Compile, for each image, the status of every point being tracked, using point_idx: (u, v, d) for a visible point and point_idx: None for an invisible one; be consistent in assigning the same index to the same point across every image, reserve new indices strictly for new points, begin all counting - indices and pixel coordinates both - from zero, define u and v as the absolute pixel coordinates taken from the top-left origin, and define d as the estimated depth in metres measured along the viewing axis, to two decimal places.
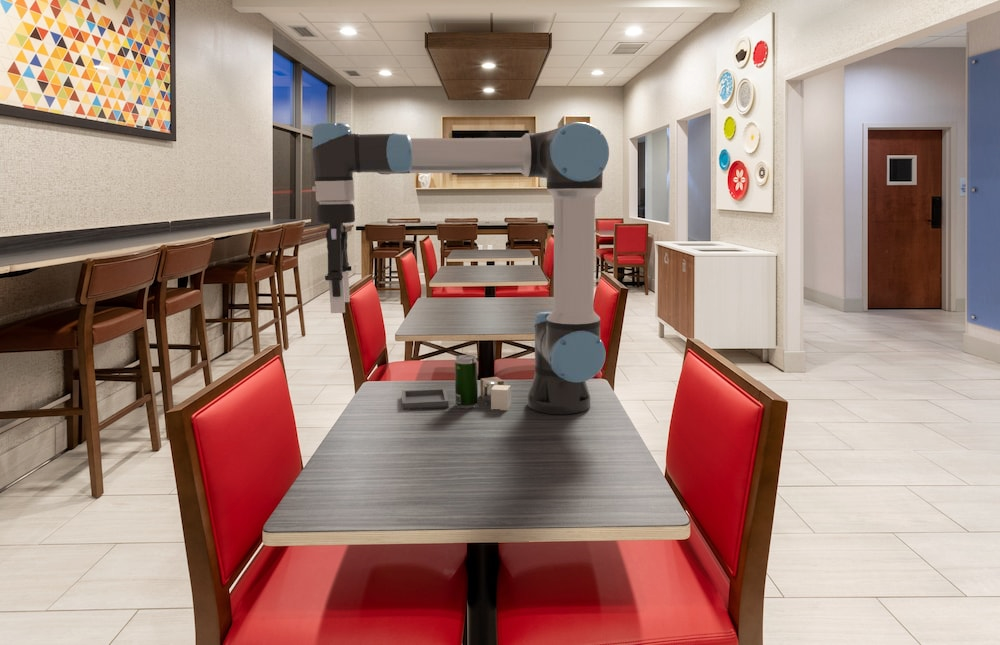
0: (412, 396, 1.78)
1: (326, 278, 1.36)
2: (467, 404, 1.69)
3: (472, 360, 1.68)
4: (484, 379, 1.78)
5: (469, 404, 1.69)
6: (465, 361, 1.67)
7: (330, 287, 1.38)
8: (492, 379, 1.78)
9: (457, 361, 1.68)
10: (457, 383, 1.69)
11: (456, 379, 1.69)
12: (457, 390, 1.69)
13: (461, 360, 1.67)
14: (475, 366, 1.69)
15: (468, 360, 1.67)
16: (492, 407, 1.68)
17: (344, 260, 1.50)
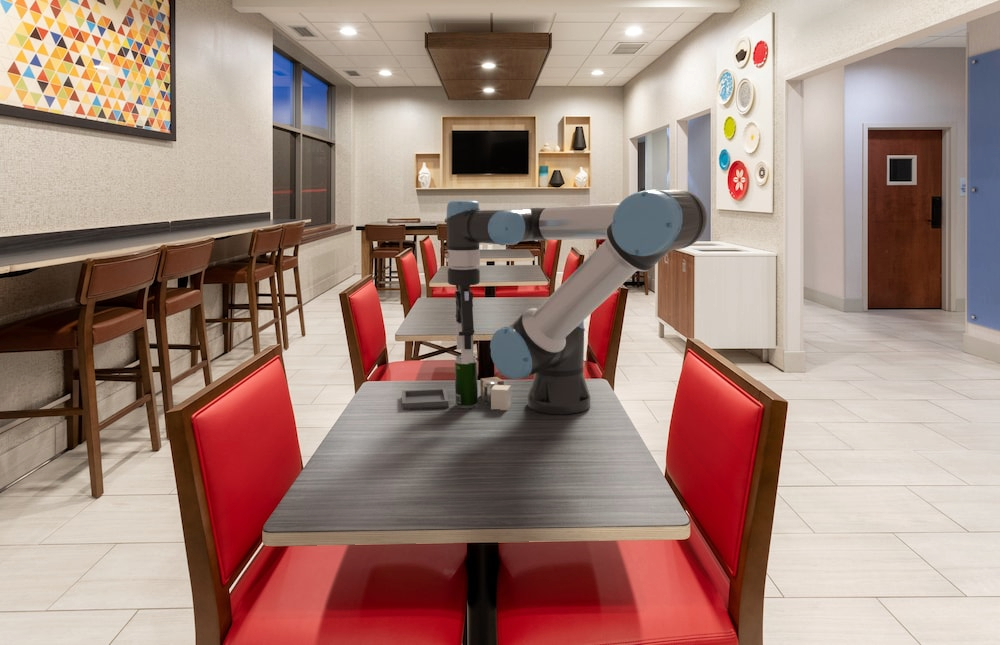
0: (412, 396, 1.78)
1: (460, 334, 1.60)
2: (467, 404, 1.69)
3: None
4: (484, 379, 1.78)
5: (469, 404, 1.69)
6: None
7: (462, 341, 1.61)
8: (492, 379, 1.78)
9: (457, 361, 1.68)
10: (457, 383, 1.69)
11: (456, 379, 1.69)
12: (457, 390, 1.69)
13: (461, 360, 1.67)
14: (475, 366, 1.69)
15: None
16: (492, 407, 1.68)
17: None
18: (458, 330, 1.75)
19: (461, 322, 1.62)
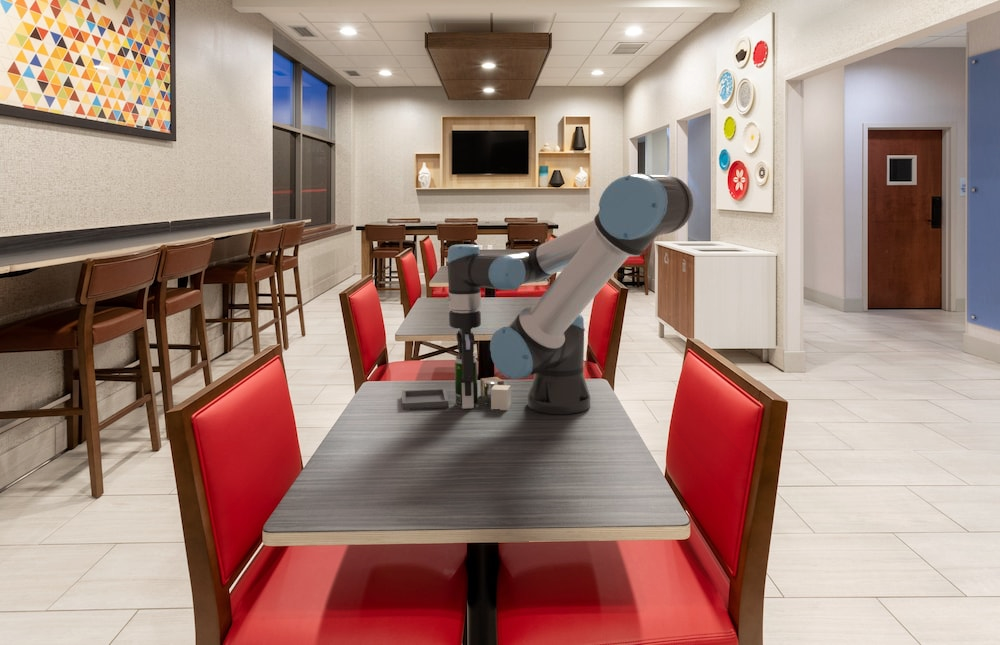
0: (412, 396, 1.78)
1: (460, 382, 1.66)
2: None
3: None
4: (484, 379, 1.78)
5: None
6: None
7: (462, 387, 1.67)
8: (492, 379, 1.78)
9: (457, 361, 1.68)
10: (457, 383, 1.69)
11: (456, 379, 1.69)
12: (457, 390, 1.69)
13: (461, 360, 1.67)
14: (475, 366, 1.69)
15: None
16: (492, 407, 1.68)
17: None
18: None
19: (462, 368, 1.66)
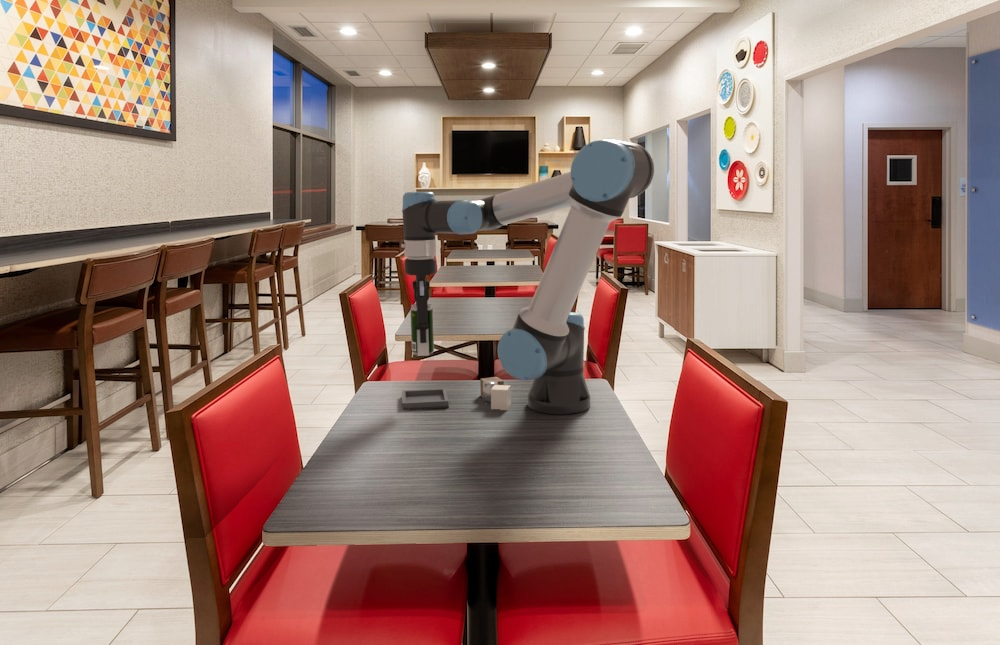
0: (412, 396, 1.78)
1: (415, 328, 1.67)
2: None
3: None
4: (484, 379, 1.78)
5: None
6: None
7: (418, 335, 1.68)
8: (492, 379, 1.78)
9: (412, 308, 1.69)
10: (413, 330, 1.70)
11: (412, 327, 1.70)
12: (413, 338, 1.70)
13: None
14: (430, 313, 1.69)
15: None
16: (492, 407, 1.68)
17: None
18: None
19: None
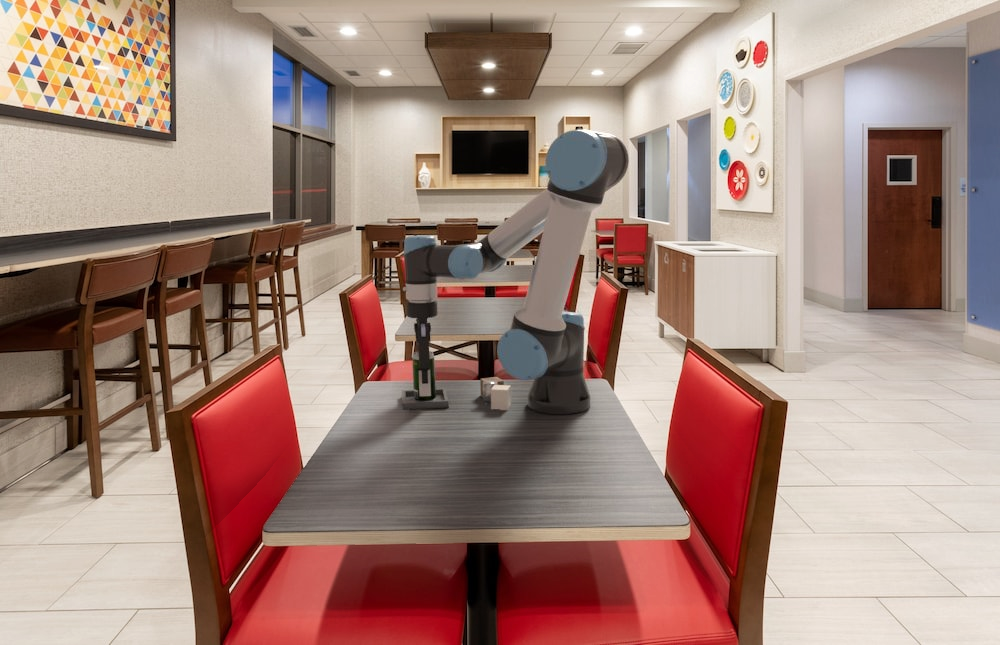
0: (412, 396, 1.78)
1: (417, 369, 1.66)
2: (424, 399, 1.72)
3: None
4: (484, 379, 1.78)
5: (427, 399, 1.72)
6: None
7: (419, 375, 1.68)
8: (492, 379, 1.78)
9: (414, 357, 1.71)
10: (415, 379, 1.72)
11: (414, 375, 1.72)
12: (415, 385, 1.72)
13: (418, 356, 1.70)
14: (432, 362, 1.71)
15: None
16: (492, 407, 1.68)
17: None
18: None
19: None
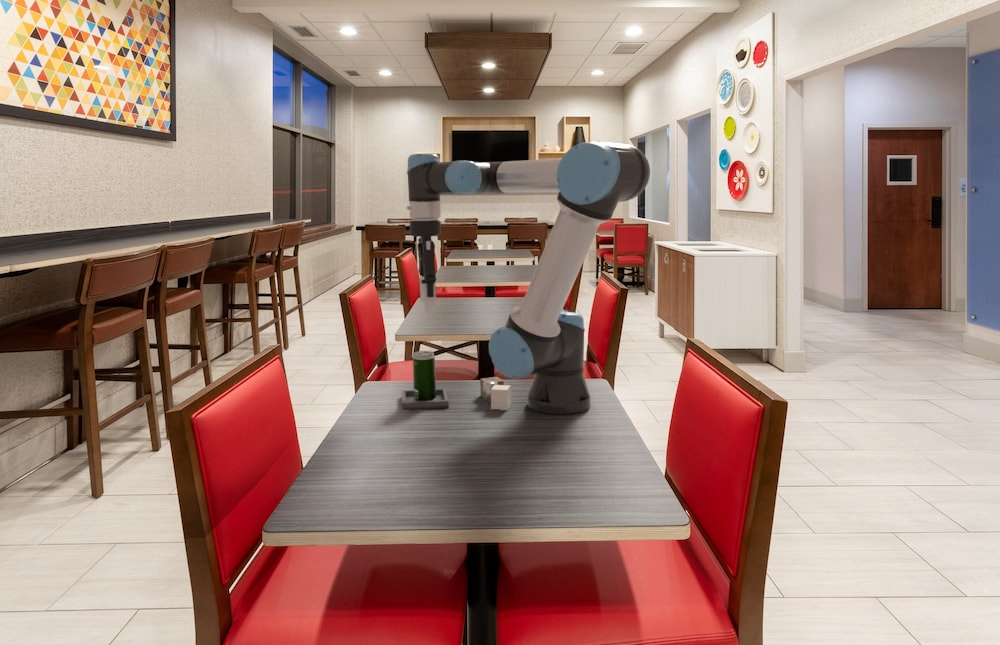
0: (412, 396, 1.78)
1: (422, 282, 1.66)
2: (425, 399, 1.72)
3: (429, 356, 1.70)
4: (484, 379, 1.78)
5: (427, 399, 1.72)
6: (422, 357, 1.70)
7: (425, 289, 1.67)
8: (492, 379, 1.78)
9: (415, 357, 1.71)
10: (415, 379, 1.72)
11: (414, 375, 1.72)
12: (415, 385, 1.72)
13: (419, 355, 1.70)
14: (432, 362, 1.71)
15: (425, 356, 1.70)
16: (492, 407, 1.68)
17: None
18: (421, 283, 1.80)
19: (423, 271, 1.67)
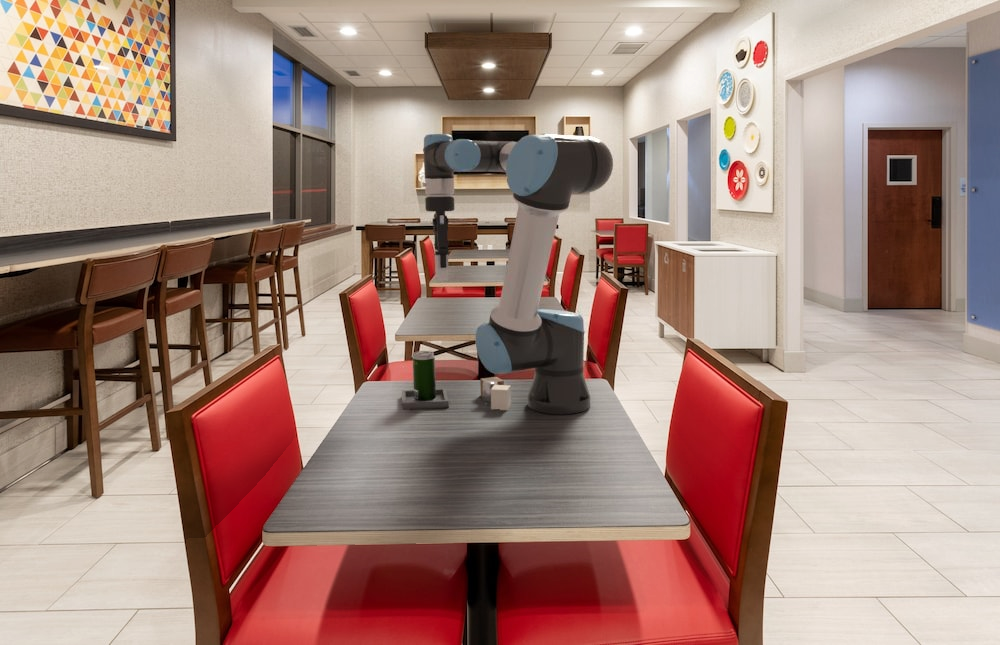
0: (412, 396, 1.78)
1: (436, 253, 1.77)
2: (425, 399, 1.72)
3: (429, 356, 1.70)
4: (484, 379, 1.78)
5: (427, 399, 1.72)
6: (422, 357, 1.70)
7: (438, 260, 1.79)
8: (492, 379, 1.78)
9: (414, 357, 1.71)
10: (415, 379, 1.72)
11: (414, 375, 1.72)
12: (415, 385, 1.72)
13: (419, 355, 1.70)
14: (432, 362, 1.71)
15: (425, 356, 1.70)
16: (492, 407, 1.68)
17: None
18: (436, 256, 1.92)
19: (437, 243, 1.79)
